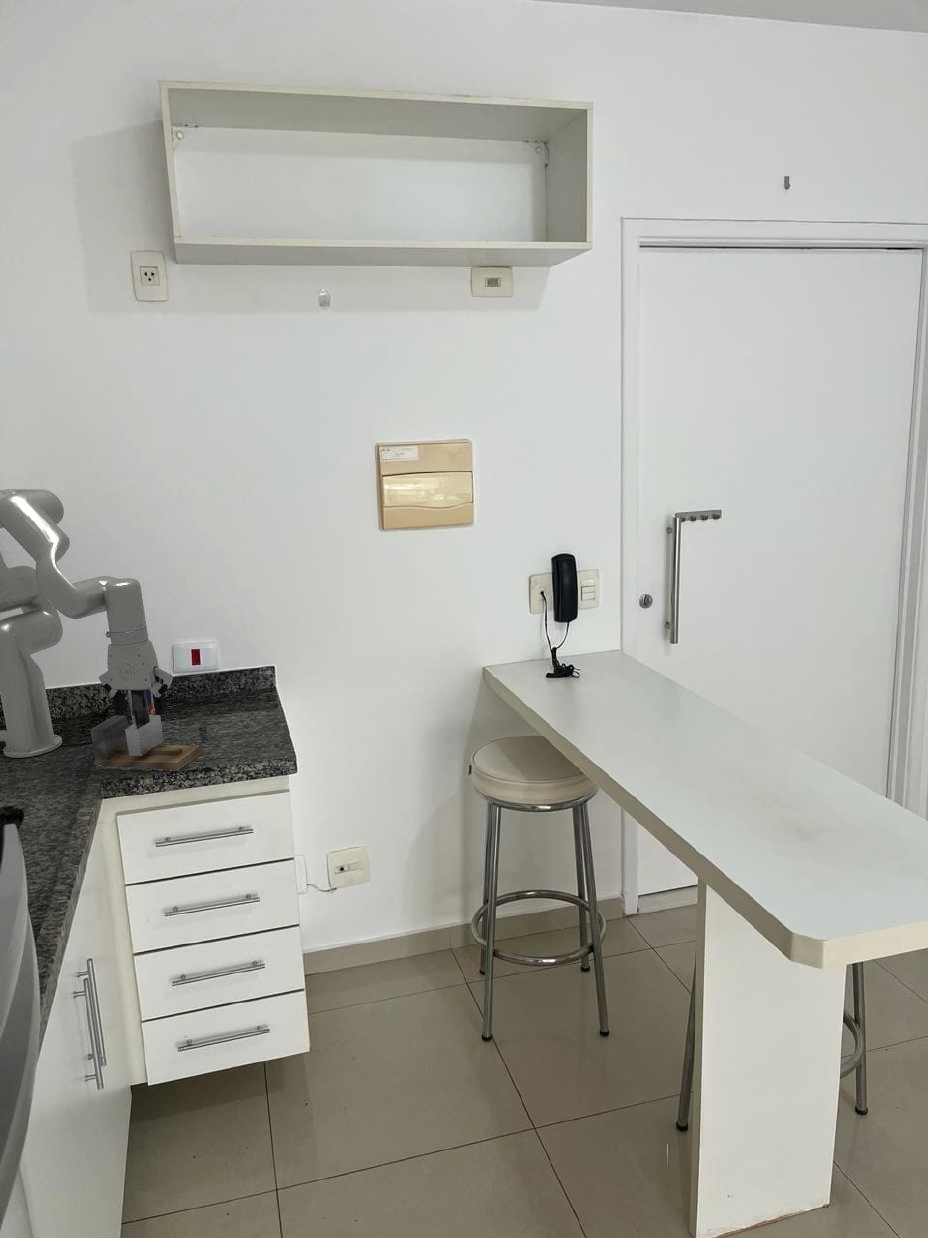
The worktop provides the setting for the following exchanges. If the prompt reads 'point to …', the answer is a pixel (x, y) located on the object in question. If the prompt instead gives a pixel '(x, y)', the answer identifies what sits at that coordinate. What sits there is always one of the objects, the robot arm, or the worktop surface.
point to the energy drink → (149, 702)
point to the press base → (115, 753)
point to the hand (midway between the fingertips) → (140, 712)
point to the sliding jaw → (143, 727)
